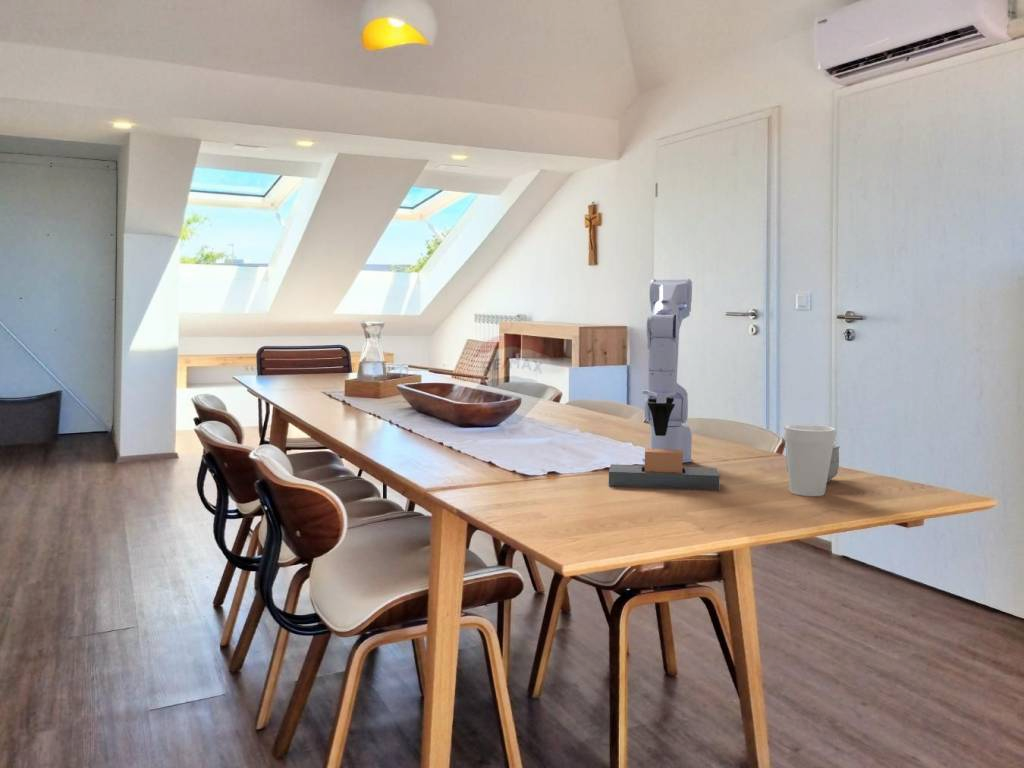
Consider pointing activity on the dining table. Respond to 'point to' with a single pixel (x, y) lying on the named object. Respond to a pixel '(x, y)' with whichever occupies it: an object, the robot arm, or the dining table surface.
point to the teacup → (833, 463)
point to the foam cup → (808, 457)
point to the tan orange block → (663, 460)
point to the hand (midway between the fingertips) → (660, 432)
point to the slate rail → (664, 478)
